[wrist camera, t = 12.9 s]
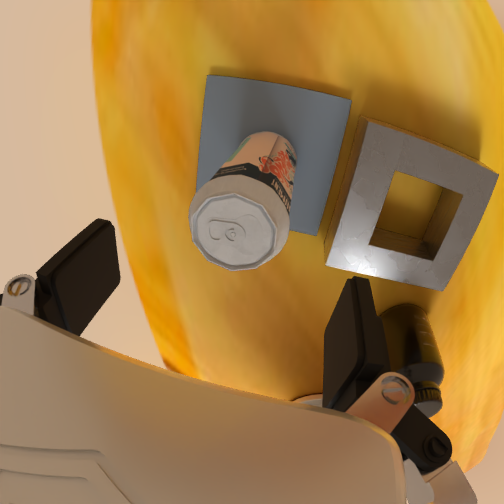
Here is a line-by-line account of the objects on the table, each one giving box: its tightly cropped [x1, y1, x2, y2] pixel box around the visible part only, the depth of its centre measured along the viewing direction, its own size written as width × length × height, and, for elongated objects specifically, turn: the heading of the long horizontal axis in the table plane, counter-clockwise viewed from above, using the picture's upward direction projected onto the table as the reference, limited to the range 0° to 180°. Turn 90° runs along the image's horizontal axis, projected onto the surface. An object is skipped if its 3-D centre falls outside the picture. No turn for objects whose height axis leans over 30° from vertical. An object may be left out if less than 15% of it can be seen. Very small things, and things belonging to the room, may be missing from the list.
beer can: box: [188, 131, 297, 271], centre depth 18 cm, size 5×5×12 cm
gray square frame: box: [324, 115, 499, 291], centre depth 22 cm, size 12×12×4 cm
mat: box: [196, 75, 352, 236], centre depth 23 cm, size 12×11×1 cm
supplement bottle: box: [380, 304, 445, 418], centre depth 26 cm, size 7×7×12 cm
